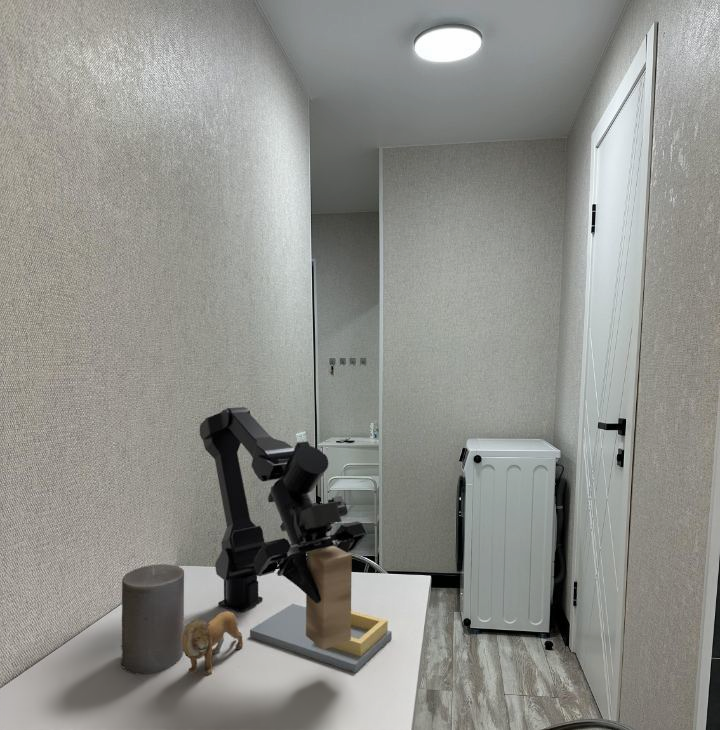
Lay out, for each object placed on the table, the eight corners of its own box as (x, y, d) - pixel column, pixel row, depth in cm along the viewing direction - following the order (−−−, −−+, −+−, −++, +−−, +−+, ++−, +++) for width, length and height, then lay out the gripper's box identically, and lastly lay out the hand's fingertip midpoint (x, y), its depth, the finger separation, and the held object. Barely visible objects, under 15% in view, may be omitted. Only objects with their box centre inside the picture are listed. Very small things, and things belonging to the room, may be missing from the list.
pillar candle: (107, 667, 83) (107, 573, 84) (152, 637, 93) (152, 552, 93) (155, 680, 80) (155, 582, 80) (197, 648, 89) (197, 560, 89)
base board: (250, 636, 93) (249, 618, 93) (292, 609, 103) (292, 593, 103) (355, 672, 81) (355, 651, 81) (391, 638, 91) (391, 619, 91)
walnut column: (305, 635, 81) (306, 551, 81) (332, 626, 84) (333, 545, 84) (323, 649, 77) (324, 561, 77) (350, 639, 80) (351, 554, 80)
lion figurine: (204, 691, 77) (203, 629, 77) (172, 686, 78) (171, 625, 78) (249, 641, 91) (248, 589, 91) (221, 637, 92) (221, 586, 93)
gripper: (261, 490, 78) (300, 588, 69) (360, 473, 90) (404, 556, 81) (239, 529, 84) (272, 624, 76) (334, 510, 96) (372, 590, 87)
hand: (333, 597), depth 80 cm, fingers closed on walnut column, 5 cm apart
